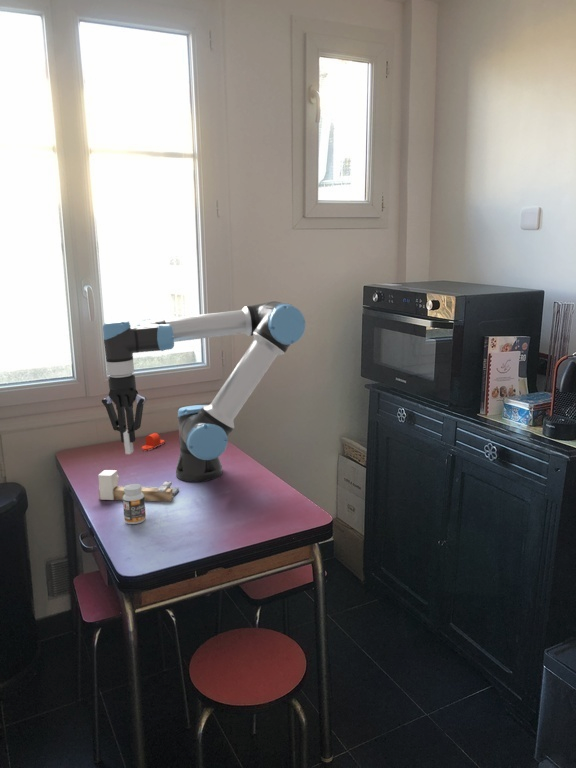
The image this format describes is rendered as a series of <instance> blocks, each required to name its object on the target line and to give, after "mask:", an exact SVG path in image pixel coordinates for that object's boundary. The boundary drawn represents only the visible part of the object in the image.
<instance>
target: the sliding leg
mask: <svg viewBox="0 0 576 768" xmlns="http://www.w3.org/2000/svg"><path fill="white" fill-rule="evenodd" d="M97 477H98V487H99V489H100V499H99V500H104V501H105V500H107V501H114V493H113V489H114V488H115V487H118V486H119V480H120V476H119V475H118V470H115V469H114V470H113V469H104V470H103V471H101V472H100V473H99V474H98V476H97ZM99 489H98V490H99Z"/></svg>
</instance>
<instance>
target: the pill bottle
mask: <svg viewBox="0 0 576 768" xmlns="http://www.w3.org/2000/svg"><path fill="white" fill-rule="evenodd" d="M124 486H125V487H124V492H125V494H124V496H123V500H122V505H123V507H122V508H123V517H124V522H125V523H126V524H128V525H137V524H141V523H143V522H144V521H145V520H146V516H147V515H146V514H147V513H146V505H145V503H146V501H145V500H144V494H143V493H142V492H141V490H142V487H141V486H142V484H140V483H130V484H126V485H124Z"/></svg>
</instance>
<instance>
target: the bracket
mask: <svg viewBox="0 0 576 768" xmlns="http://www.w3.org/2000/svg"><path fill="white" fill-rule="evenodd" d="M163 442H165V440H164V439H161V437H160V435H159V434H158V432H157V433H156V432H154V433H151V434H149V435H146V437H145V445H142V446H141V450H142V449H144V450H148V449H151V448H154V447H155V446H157V445H159V444H161V443H163Z"/></svg>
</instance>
